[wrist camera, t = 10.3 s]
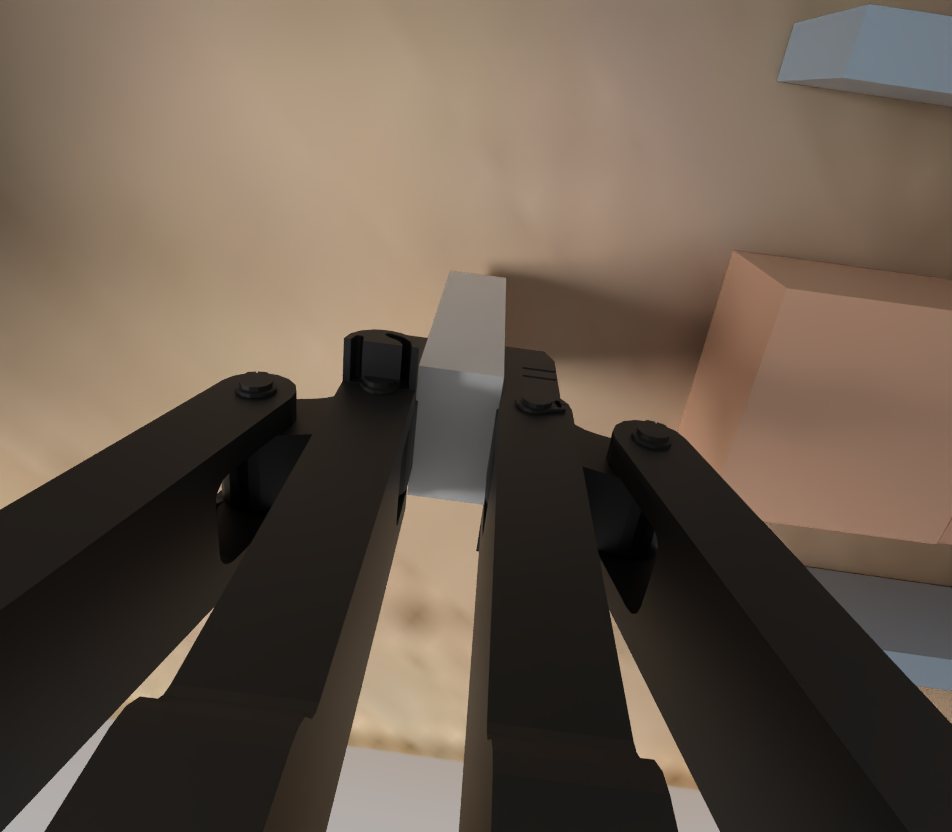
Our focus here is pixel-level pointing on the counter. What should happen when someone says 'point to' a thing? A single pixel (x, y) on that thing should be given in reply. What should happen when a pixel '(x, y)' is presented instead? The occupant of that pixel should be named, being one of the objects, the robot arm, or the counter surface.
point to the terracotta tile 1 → (829, 396)
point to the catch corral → (914, 79)
